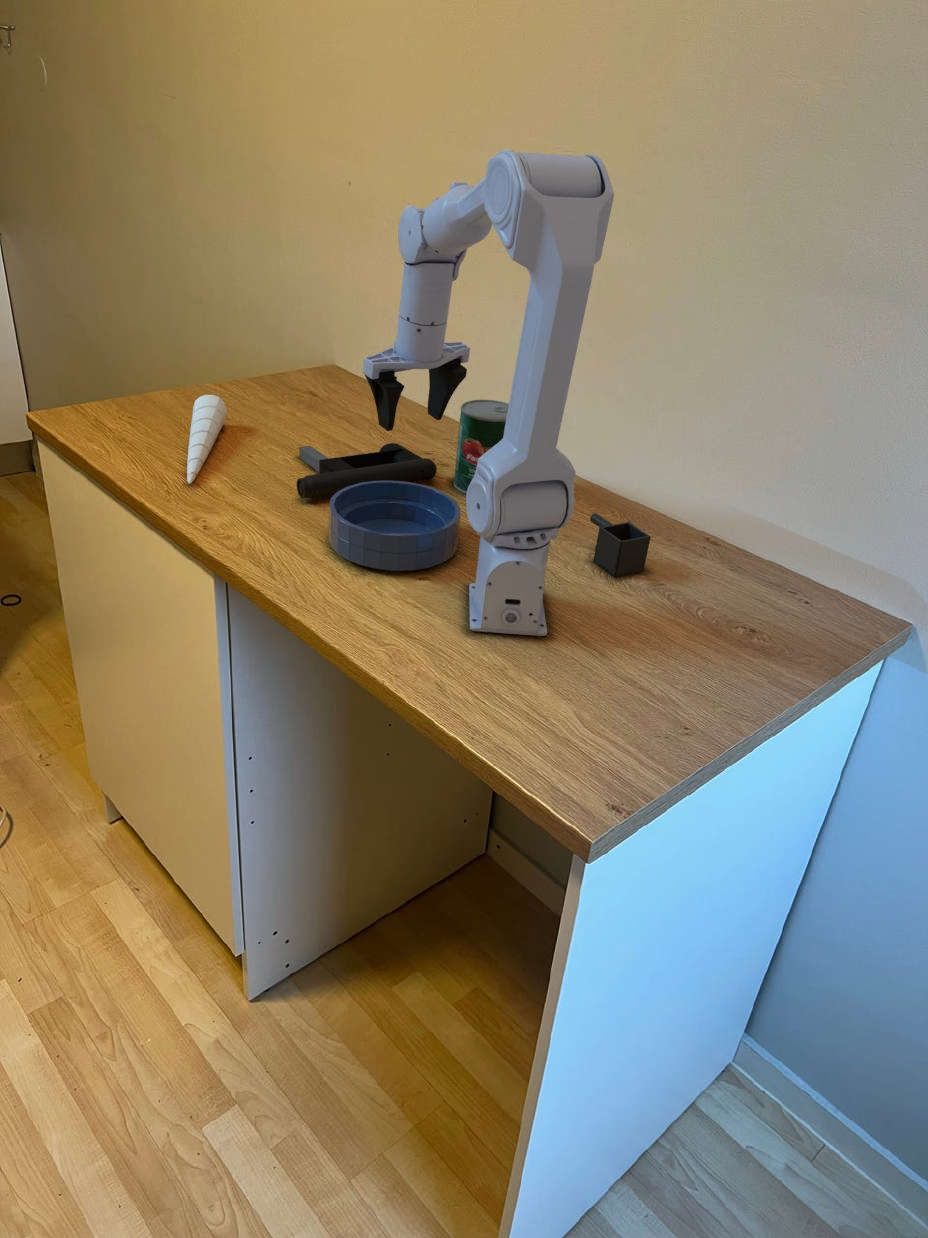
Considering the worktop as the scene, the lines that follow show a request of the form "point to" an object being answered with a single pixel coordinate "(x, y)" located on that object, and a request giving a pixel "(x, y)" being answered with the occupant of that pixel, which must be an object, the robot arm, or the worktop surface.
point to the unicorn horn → (204, 431)
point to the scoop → (620, 547)
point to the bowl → (393, 525)
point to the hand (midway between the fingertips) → (410, 421)
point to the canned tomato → (477, 436)
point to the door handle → (361, 469)
